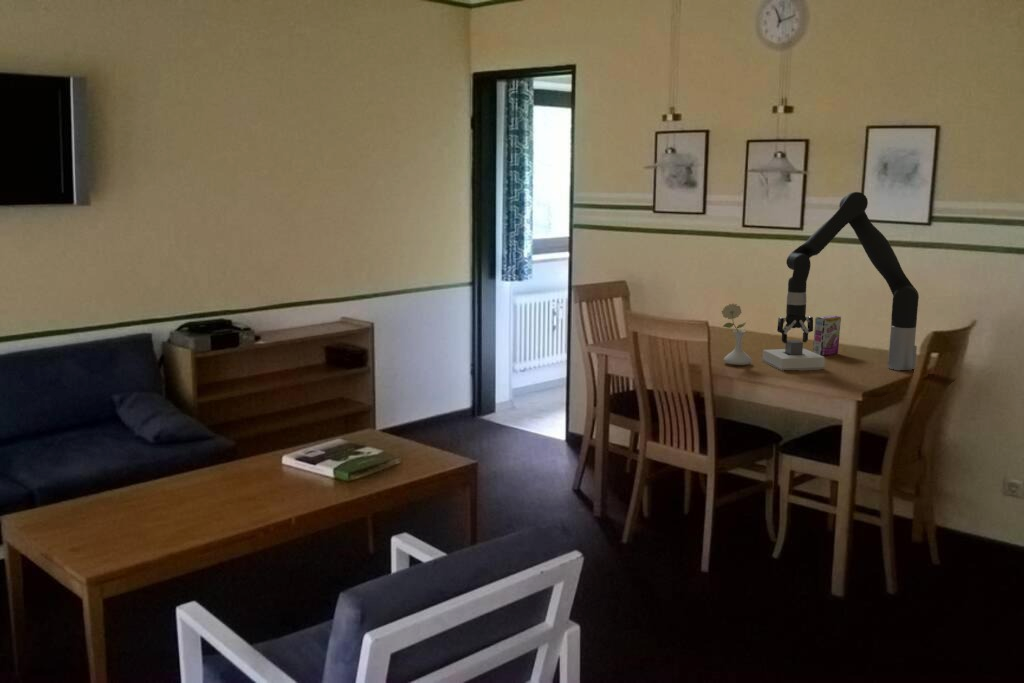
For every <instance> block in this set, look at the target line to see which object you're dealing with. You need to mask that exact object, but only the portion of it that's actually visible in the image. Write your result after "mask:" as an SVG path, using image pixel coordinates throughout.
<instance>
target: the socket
mask: <svg viewBox="0 0 1024 683" xmlns="http://www.w3.org/2000/svg"><path fill="white" fill-rule="evenodd" d="M762 362H763V363H764V362H765V363H764V364H766V363H767V364H766V365H768V364H769V365H768V366H770V365H771V366H770V367H772V366H773V367H772V368H774V367H775V368H774V369H776V368H777V370H778V369H779V371H780V370H781V371H780V372H785V371H784V370H799V371H815V370H816V371H820V369H824V370H825V362H826V359H825V356H821V355H818V354H816V353H814V352H813V351H811V350H809V349H806V348H803V351H802V355H787V354H785V348H782V349H781V348H780V349H777V348H775V349H763V350H762ZM782 370H783V371H782Z"/></svg>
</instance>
